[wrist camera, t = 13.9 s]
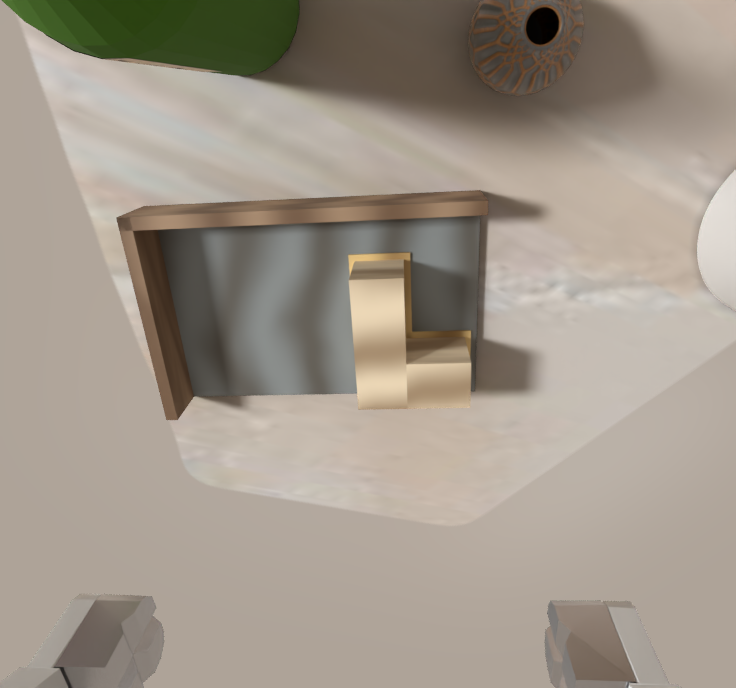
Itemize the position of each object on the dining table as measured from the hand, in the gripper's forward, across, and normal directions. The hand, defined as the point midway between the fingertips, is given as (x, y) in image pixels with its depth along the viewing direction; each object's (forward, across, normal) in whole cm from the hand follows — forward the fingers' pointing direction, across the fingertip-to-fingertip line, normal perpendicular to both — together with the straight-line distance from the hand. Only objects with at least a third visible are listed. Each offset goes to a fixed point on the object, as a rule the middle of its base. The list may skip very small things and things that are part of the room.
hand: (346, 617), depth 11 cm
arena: (+36, +7, +6) cm, 37 cm away
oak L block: (+35, -1, +8) cm, 36 cm away
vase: (+36, -9, -13) cm, 39 cm away
